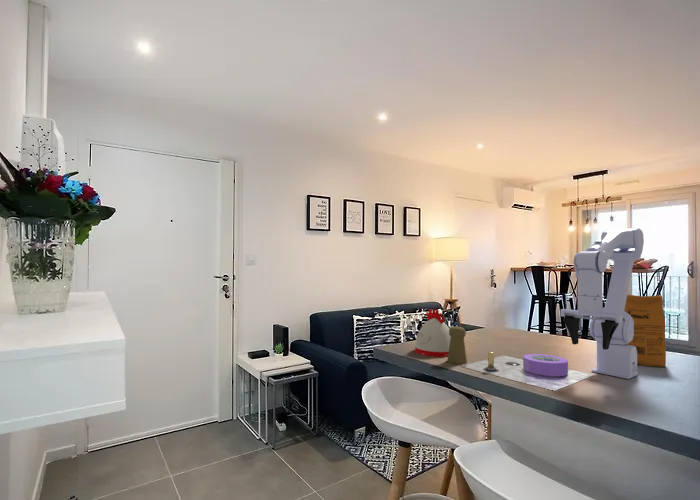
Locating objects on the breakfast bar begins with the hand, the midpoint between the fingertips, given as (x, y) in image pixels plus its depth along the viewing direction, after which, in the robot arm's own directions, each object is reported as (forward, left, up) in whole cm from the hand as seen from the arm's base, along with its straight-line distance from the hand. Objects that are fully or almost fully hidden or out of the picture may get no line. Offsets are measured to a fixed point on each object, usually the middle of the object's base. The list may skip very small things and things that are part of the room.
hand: (590, 346), depth 105 cm
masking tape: (+12, 0, -10) cm, 15 cm away
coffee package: (-1, -37, -10) cm, 38 cm away
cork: (+34, +12, -10) cm, 37 cm away
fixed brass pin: (+22, +12, -9) cm, 27 cm away
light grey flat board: (+16, +4, -9) cm, 19 cm away
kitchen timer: (+47, +7, -10) cm, 48 cm away
